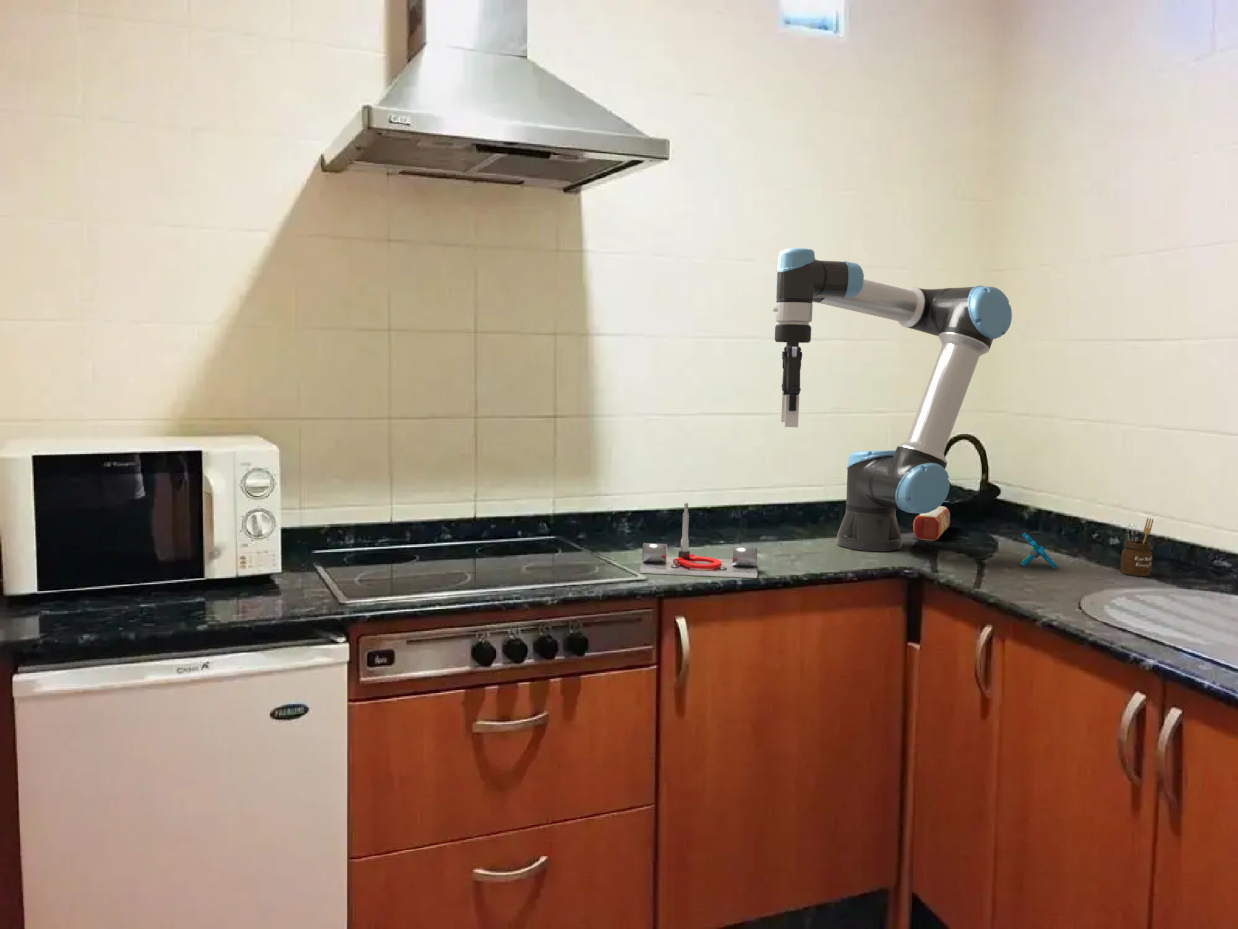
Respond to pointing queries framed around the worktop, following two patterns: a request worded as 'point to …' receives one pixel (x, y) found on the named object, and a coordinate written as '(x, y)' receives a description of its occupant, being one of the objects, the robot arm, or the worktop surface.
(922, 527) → the snack package
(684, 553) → the tow hook
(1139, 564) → the utensil holder
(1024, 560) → the gear
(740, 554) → the hinge leaf
